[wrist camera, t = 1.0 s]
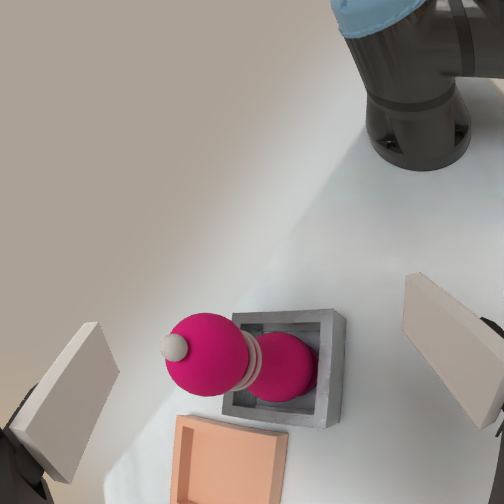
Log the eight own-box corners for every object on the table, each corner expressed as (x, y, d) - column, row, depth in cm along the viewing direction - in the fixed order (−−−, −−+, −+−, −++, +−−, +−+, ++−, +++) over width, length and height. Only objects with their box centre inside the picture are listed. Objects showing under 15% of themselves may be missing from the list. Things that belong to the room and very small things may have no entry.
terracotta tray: (192, 414, 37) (176, 415, 35) (288, 433, 30) (276, 436, 28) (184, 502, 32) (169, 506, 30) (275, 533, 25) (263, 542, 23)
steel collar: (255, 321, 38) (232, 313, 35) (345, 318, 33) (333, 308, 29) (246, 412, 34) (221, 414, 30) (339, 422, 28) (325, 428, 24)
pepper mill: (275, 408, 33) (134, 412, 17) (259, 351, 36) (123, 313, 21) (333, 388, 30) (223, 388, 15) (313, 328, 34) (198, 269, 19)
